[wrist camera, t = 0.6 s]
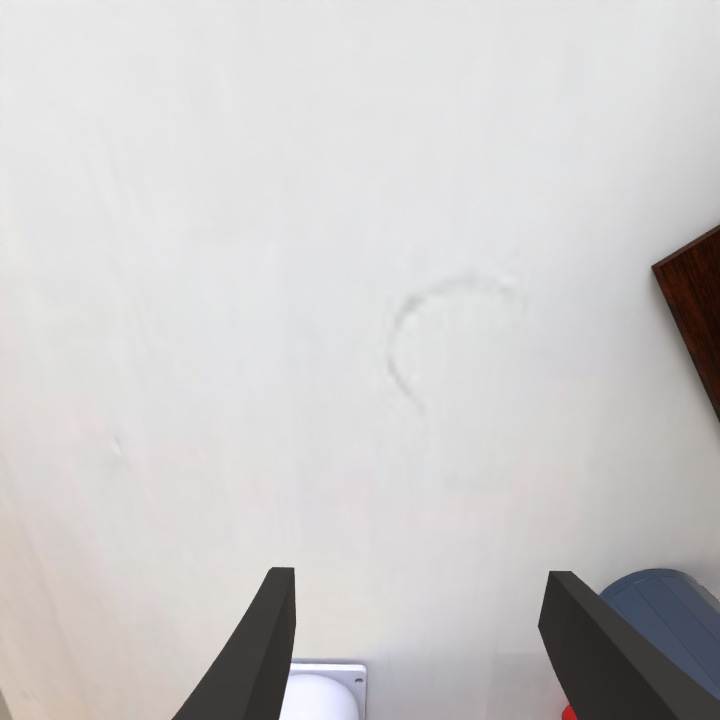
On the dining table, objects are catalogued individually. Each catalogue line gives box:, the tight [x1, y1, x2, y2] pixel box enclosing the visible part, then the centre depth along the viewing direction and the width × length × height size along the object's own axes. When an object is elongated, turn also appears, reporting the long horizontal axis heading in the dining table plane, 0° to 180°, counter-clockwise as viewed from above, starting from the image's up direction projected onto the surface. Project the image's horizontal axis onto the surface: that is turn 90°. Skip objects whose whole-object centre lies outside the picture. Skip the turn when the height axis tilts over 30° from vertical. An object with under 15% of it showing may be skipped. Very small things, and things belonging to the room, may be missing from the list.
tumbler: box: [599, 569, 720, 701], centre depth 21 cm, size 8×8×6 cm
